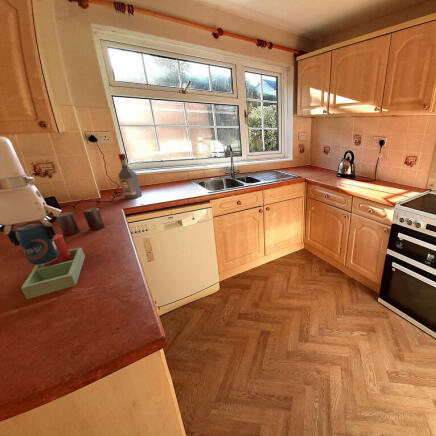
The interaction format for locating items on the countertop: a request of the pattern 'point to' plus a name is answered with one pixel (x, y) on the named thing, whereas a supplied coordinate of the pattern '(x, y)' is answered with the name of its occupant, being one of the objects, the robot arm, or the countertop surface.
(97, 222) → the grey tin right
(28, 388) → the countertop surface
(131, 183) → the liquor
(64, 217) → the grey tin left
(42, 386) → the countertop surface
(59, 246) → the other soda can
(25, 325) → the countertop surface
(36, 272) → the can rack
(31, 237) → the soda can
